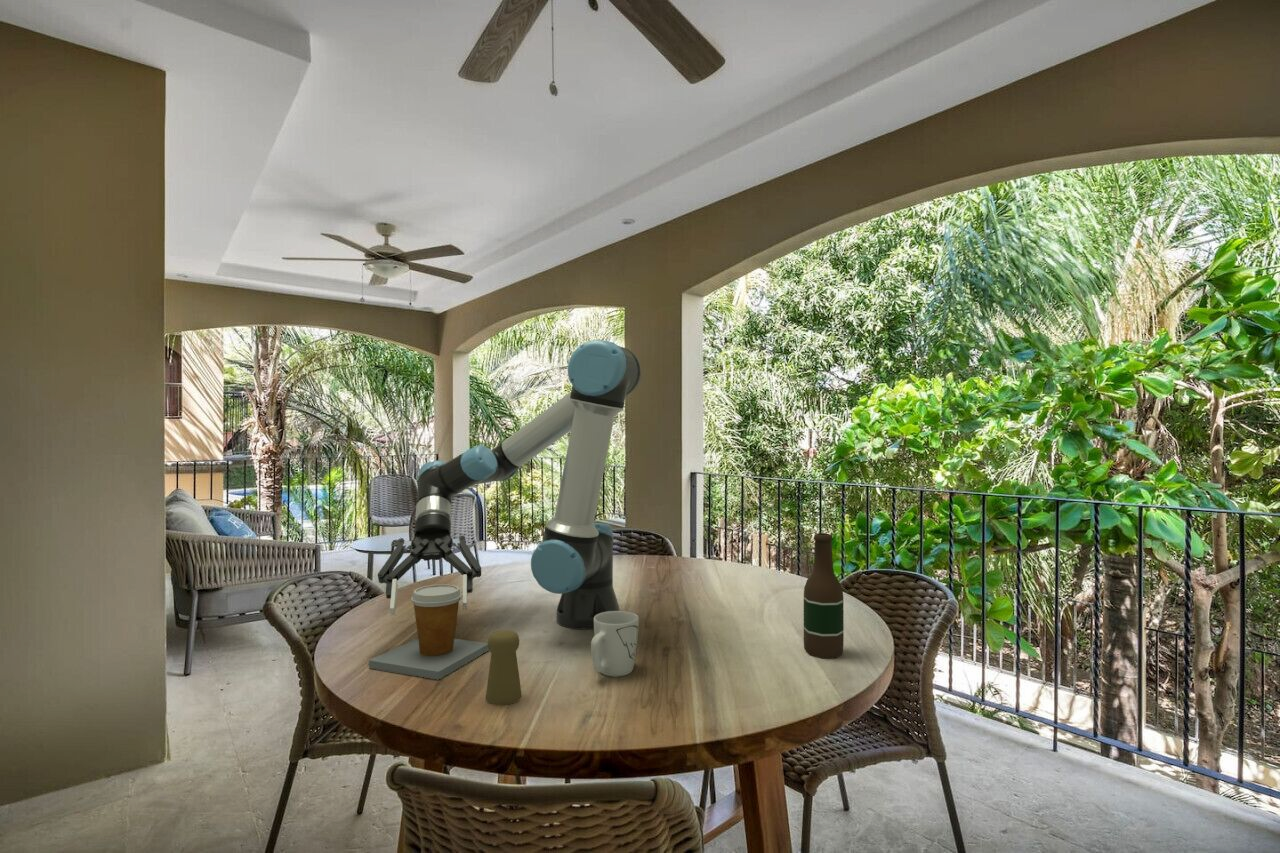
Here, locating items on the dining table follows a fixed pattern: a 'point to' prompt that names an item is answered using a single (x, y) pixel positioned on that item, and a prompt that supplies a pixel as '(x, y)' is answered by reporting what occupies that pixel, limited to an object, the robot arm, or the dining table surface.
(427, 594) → the disposable coffee cup
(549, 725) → the dining table surface
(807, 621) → the beer bottle
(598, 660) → the mug
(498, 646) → the olive pawn
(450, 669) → the slate board
